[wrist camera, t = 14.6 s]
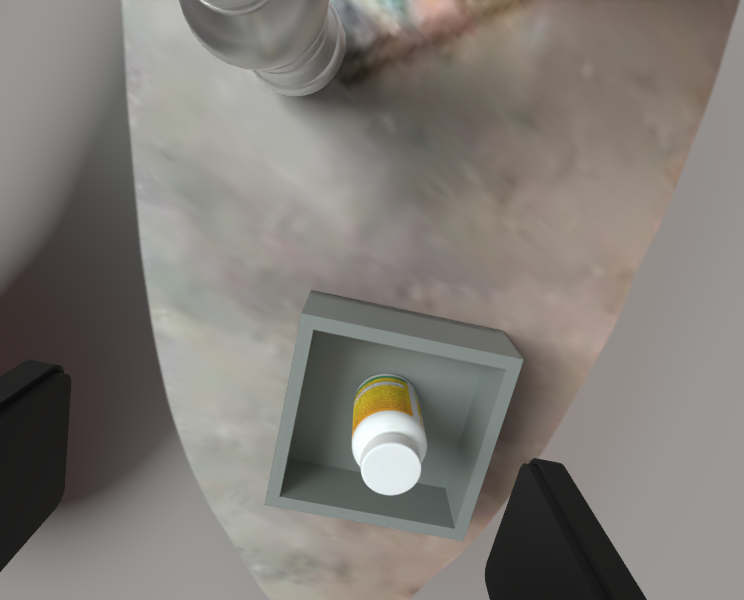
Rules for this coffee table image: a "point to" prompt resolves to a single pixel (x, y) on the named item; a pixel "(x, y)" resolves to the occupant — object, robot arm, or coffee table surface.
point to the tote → (437, 403)
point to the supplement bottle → (388, 434)
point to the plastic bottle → (273, 39)
